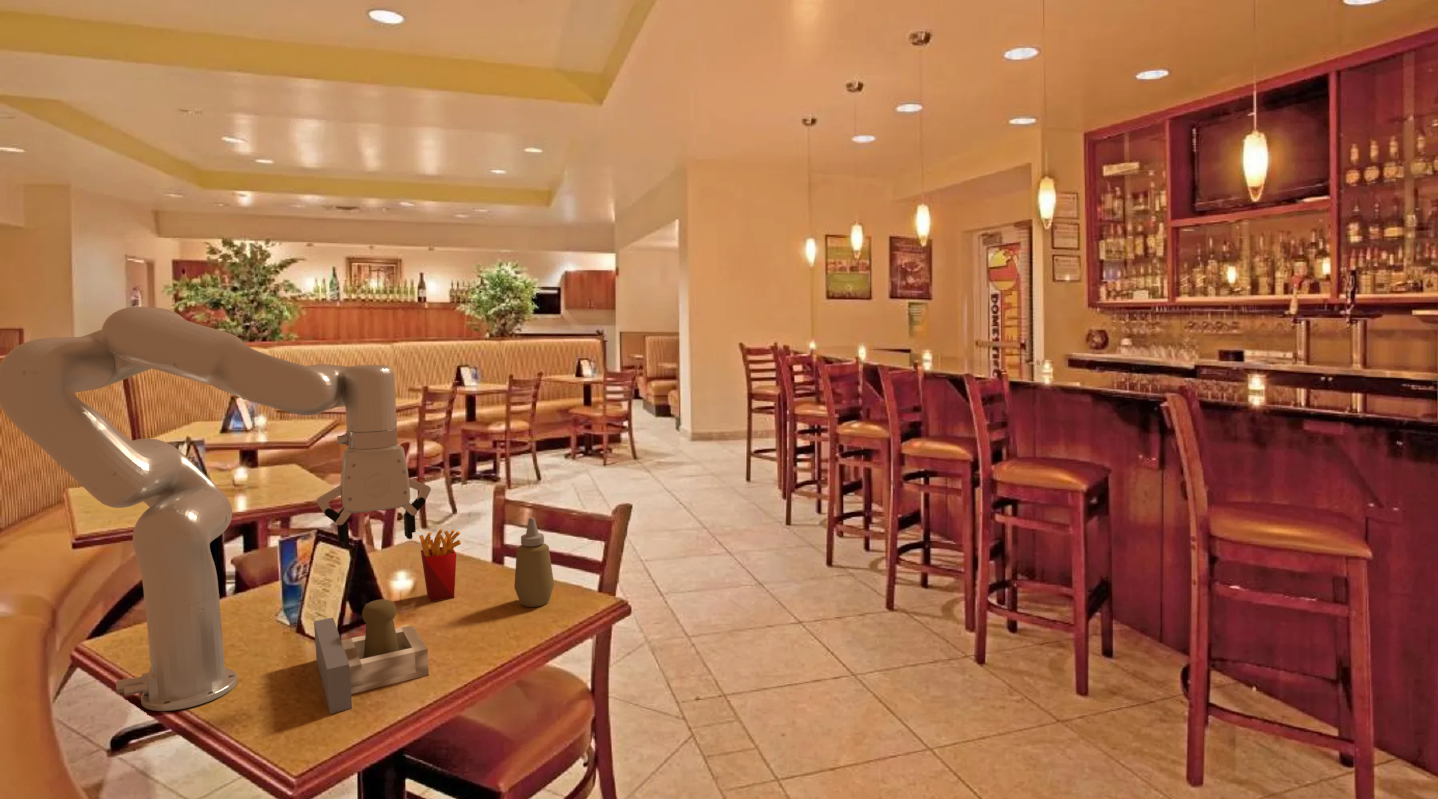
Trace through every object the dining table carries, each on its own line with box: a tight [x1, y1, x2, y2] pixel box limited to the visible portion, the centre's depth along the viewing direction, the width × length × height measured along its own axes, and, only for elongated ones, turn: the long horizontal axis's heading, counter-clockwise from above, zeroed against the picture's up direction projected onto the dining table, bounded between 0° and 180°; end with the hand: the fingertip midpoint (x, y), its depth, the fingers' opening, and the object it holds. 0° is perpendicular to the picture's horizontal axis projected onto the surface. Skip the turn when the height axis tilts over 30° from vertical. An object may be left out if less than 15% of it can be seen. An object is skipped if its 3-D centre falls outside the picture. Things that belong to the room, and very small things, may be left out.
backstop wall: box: [313, 617, 353, 715], centre depth 124 cm, size 3×22×7 cm, turn 32°
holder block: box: [341, 624, 430, 695], centre depth 128 cm, size 12×12×4 cm
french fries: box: [418, 528, 462, 603], centre depth 162 cm, size 9×8×15 cm
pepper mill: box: [361, 598, 399, 659], centre depth 128 cm, size 6×6×11 cm
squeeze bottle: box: [514, 517, 555, 608], centre depth 158 cm, size 8×8×18 cm
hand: (377, 541), depth 126 cm, fingers open, 9 cm apart
